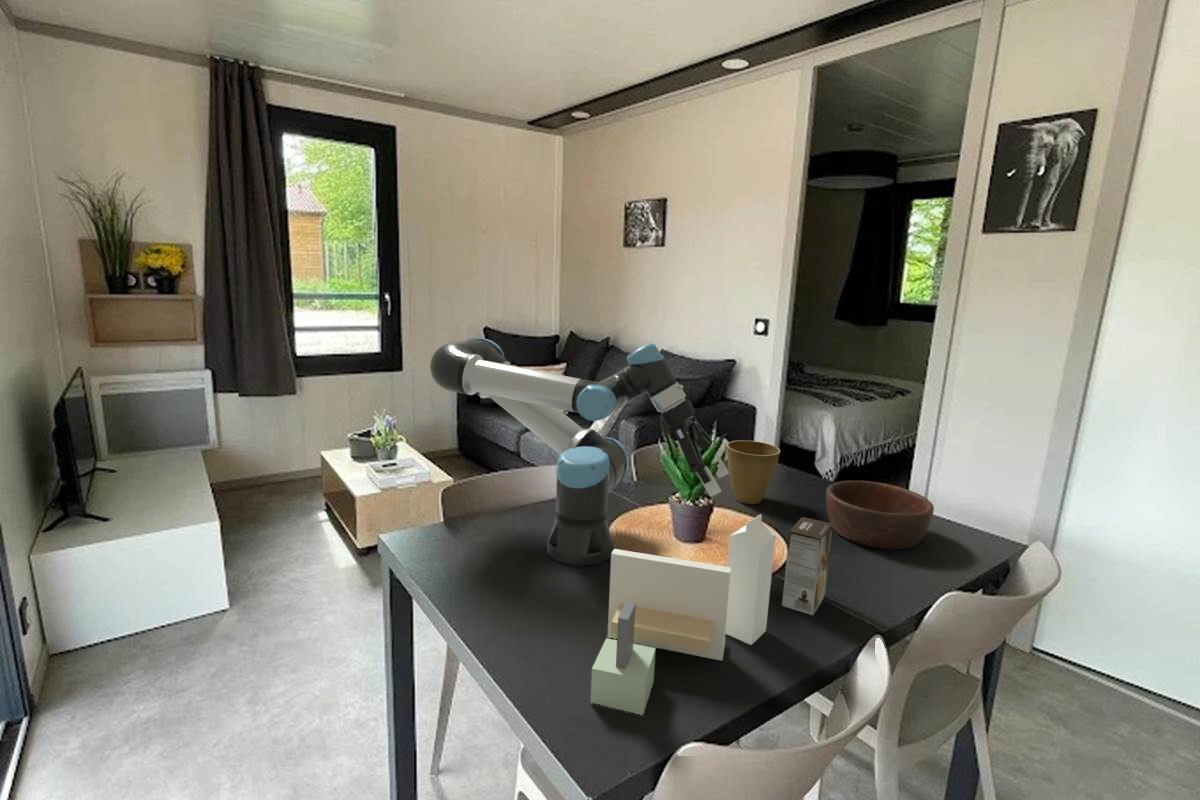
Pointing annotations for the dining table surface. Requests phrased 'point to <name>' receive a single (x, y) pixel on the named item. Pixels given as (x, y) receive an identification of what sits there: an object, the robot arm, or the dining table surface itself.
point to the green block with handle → (623, 668)
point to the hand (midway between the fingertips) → (720, 484)
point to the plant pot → (751, 469)
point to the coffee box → (807, 565)
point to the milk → (749, 580)
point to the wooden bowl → (878, 514)
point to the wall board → (671, 602)
